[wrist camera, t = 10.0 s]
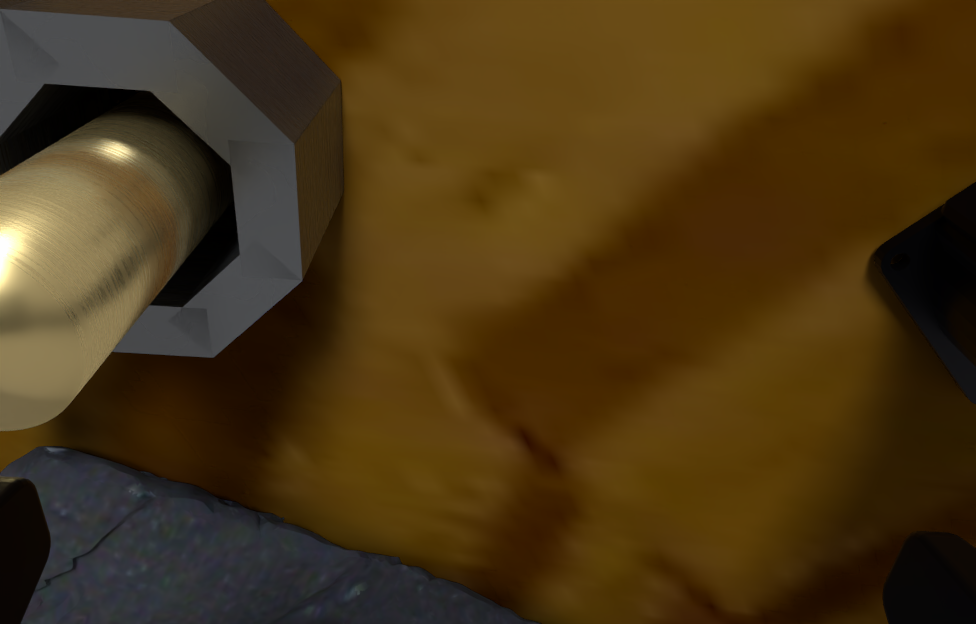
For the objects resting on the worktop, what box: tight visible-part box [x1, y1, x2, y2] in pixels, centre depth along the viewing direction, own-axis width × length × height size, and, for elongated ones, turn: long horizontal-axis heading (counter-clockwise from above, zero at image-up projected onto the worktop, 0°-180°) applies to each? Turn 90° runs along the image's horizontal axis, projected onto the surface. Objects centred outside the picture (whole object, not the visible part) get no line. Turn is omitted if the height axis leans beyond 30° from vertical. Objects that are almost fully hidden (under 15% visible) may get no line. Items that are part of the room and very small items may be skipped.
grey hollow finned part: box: [0, 0, 344, 358], centre depth 17 cm, size 11×11×5 cm
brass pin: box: [0, 90, 234, 431], centre depth 14 cm, size 3×3×10 cm
